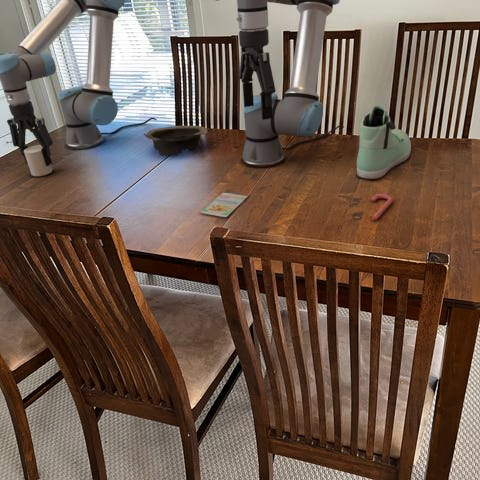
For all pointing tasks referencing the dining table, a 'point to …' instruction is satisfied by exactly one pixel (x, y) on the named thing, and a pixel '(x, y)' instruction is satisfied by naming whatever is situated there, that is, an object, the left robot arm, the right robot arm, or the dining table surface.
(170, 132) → the stone bowl
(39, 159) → the canister
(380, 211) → the candy cane
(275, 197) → the dining table surface
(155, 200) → the dining table surface
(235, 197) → the baking ingredient package
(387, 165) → the sneaker
